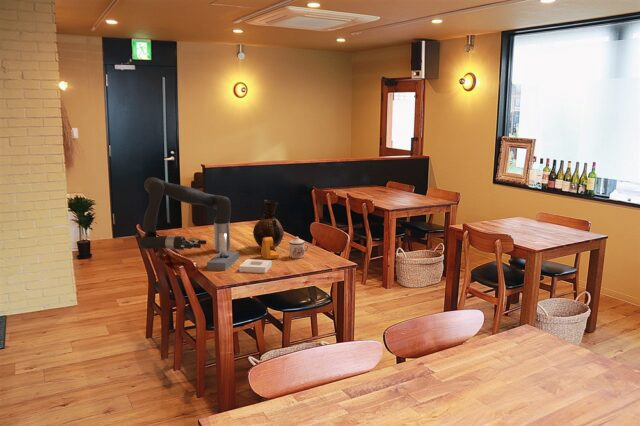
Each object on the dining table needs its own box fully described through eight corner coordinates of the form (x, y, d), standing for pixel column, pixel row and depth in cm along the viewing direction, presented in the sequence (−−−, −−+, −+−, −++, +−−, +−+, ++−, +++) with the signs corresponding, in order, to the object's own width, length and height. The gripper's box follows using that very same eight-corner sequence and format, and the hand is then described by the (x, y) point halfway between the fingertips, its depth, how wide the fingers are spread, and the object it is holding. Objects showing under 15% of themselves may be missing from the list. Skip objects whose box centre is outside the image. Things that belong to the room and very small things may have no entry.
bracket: (279, 259, 325) (279, 238, 323) (267, 260, 322) (267, 239, 320) (273, 254, 335) (272, 234, 332) (261, 255, 332) (261, 235, 330)
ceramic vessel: (247, 246, 353) (247, 199, 347) (272, 243, 362) (272, 196, 357) (263, 254, 335) (263, 204, 330) (289, 250, 345) (289, 201, 339)
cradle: (246, 264, 313) (246, 259, 313) (271, 265, 311) (271, 260, 311) (239, 271, 300) (239, 266, 299) (265, 273, 298) (265, 267, 297)
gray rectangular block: (221, 257, 327) (221, 251, 326) (238, 258, 325) (238, 251, 324) (207, 269, 303) (207, 262, 303) (225, 270, 302) (225, 263, 301)
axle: (221, 262, 317) (220, 232, 313) (228, 263, 316) (227, 233, 313) (218, 264, 313) (218, 234, 309) (225, 265, 312) (225, 234, 309)
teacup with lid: (292, 259, 324) (292, 239, 322) (286, 255, 332) (286, 236, 330) (311, 257, 329) (311, 237, 327) (305, 253, 337) (305, 234, 335)
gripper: (170, 238, 309) (198, 240, 306) (180, 233, 323) (207, 234, 320) (170, 252, 310) (198, 253, 308) (180, 246, 324) (208, 247, 321)
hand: (203, 244), depth 314 cm, fingers open, 8 cm apart
